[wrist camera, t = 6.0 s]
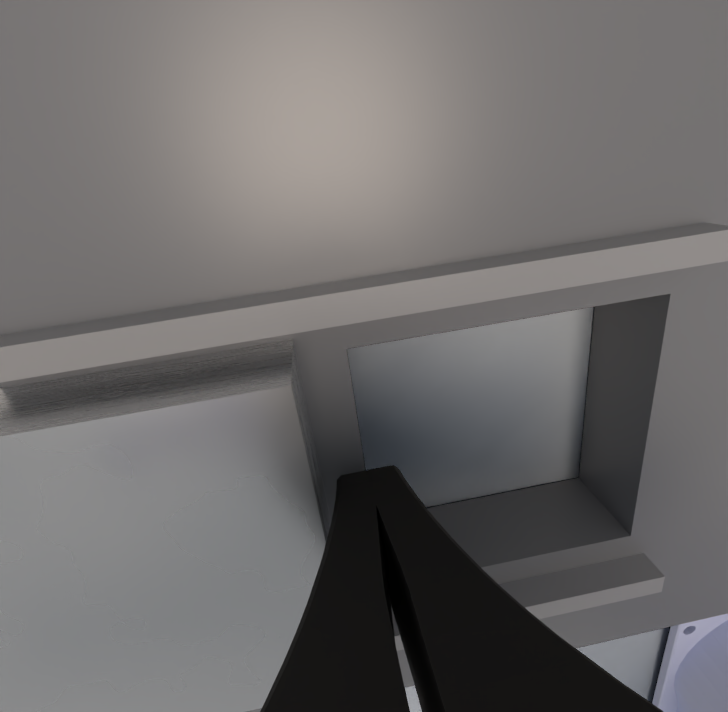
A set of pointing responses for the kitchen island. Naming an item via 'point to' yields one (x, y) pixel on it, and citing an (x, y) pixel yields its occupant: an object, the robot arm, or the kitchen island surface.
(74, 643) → the shutter
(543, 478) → the kitchen island surface
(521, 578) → the socket plate
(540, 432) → the kitchen island surface
